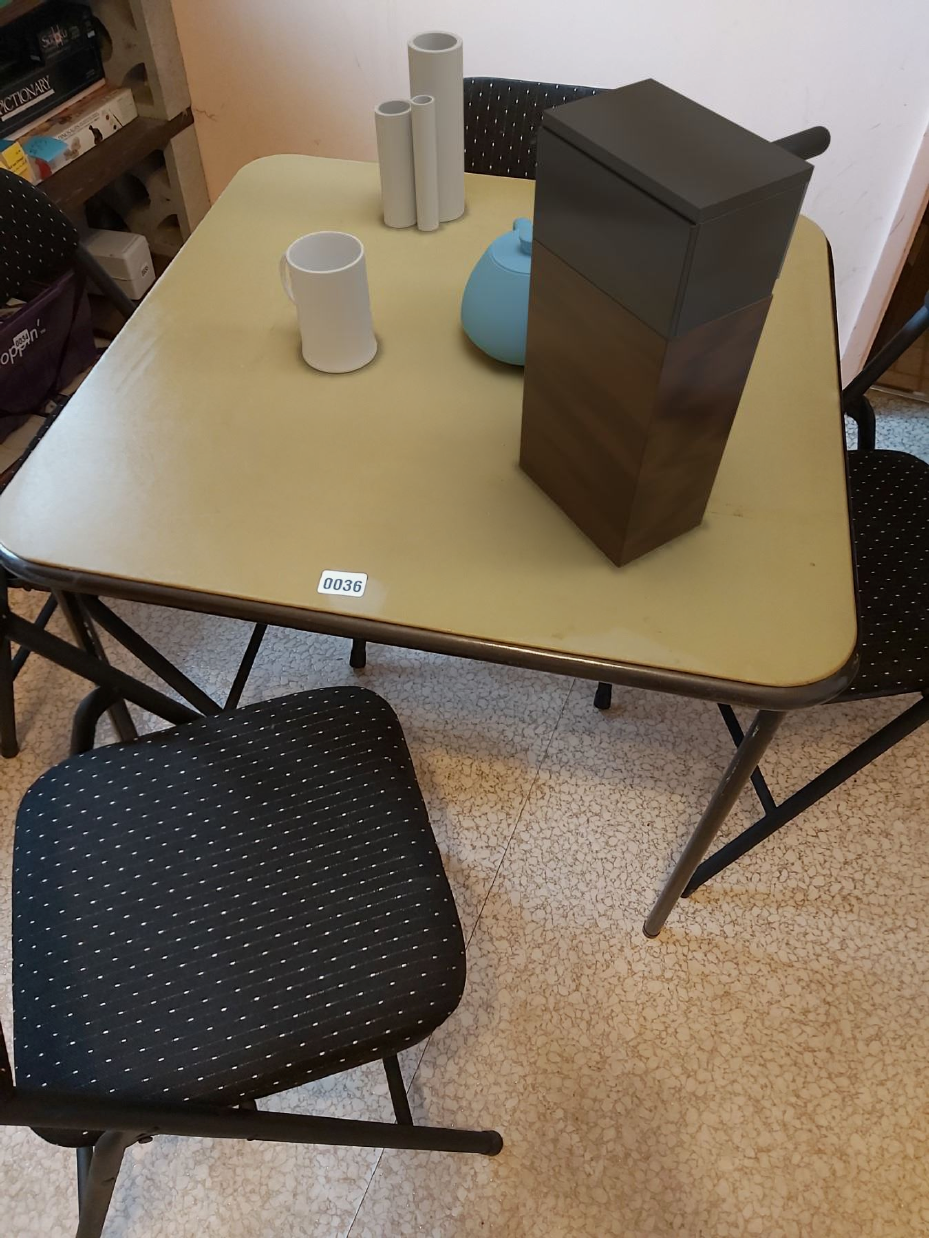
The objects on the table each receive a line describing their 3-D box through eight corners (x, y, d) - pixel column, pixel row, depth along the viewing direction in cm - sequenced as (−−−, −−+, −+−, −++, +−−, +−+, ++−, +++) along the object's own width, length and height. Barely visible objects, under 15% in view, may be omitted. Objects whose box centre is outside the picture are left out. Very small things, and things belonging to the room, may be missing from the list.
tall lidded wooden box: (597, 429, 87) (650, 77, 61) (701, 524, 79) (815, 165, 53) (518, 465, 84) (539, 111, 58) (618, 568, 76) (695, 210, 50)
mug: (268, 341, 97) (246, 242, 87) (323, 308, 101) (307, 210, 91) (337, 383, 92) (321, 284, 83) (392, 348, 96) (383, 249, 86)
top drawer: (744, 164, 71) (768, 69, 65) (874, 238, 64) (914, 138, 58) (558, 232, 65) (566, 133, 59) (678, 321, 58) (701, 219, 52)
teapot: (453, 293, 102) (451, 189, 92) (614, 283, 104) (629, 179, 93) (470, 397, 91) (470, 291, 81) (651, 384, 92) (673, 277, 82)
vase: (445, 192, 117) (440, 26, 101) (476, 213, 114) (476, 45, 98) (377, 218, 113) (361, 49, 97) (406, 240, 110) (395, 69, 94)
